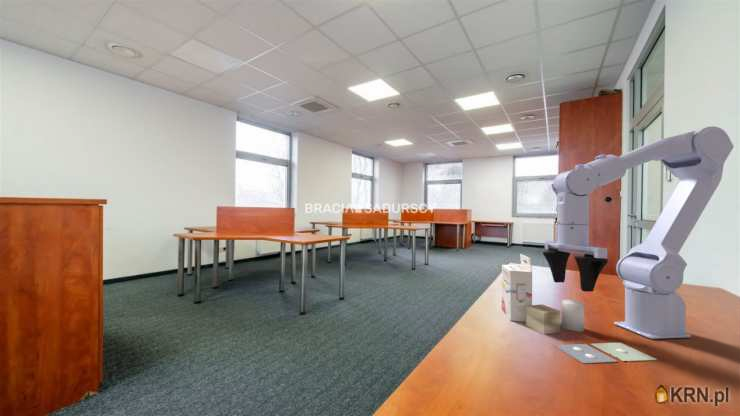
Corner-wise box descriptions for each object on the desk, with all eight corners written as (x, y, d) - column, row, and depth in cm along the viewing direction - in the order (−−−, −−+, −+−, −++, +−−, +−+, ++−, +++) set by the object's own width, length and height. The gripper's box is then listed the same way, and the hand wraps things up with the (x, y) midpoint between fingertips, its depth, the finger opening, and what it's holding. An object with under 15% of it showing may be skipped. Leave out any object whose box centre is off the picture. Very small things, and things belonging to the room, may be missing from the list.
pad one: (620, 343, 56) (620, 342, 56) (657, 360, 49) (657, 358, 49) (590, 344, 55) (590, 343, 55) (623, 361, 48) (623, 360, 48)
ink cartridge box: (500, 309, 75) (500, 252, 75) (521, 310, 74) (521, 253, 74) (509, 321, 66) (510, 257, 66) (533, 323, 65) (533, 258, 66)
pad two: (585, 344, 55) (585, 343, 55) (617, 361, 48) (617, 360, 48) (554, 345, 54) (554, 344, 54) (583, 363, 48) (583, 362, 48)
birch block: (542, 324, 65) (542, 304, 65) (560, 332, 61) (560, 310, 61) (526, 326, 64) (526, 305, 64) (543, 334, 59) (543, 312, 59)
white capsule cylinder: (573, 324, 65) (573, 299, 65) (588, 331, 61) (588, 305, 61) (557, 324, 65) (557, 300, 65) (571, 331, 61) (571, 305, 61)
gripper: (533, 222, 70) (533, 278, 70) (584, 225, 56) (584, 296, 55) (559, 223, 71) (559, 278, 71) (616, 226, 56) (616, 295, 56)
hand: (572, 286), depth 63 cm, fingers open, 7 cm apart
